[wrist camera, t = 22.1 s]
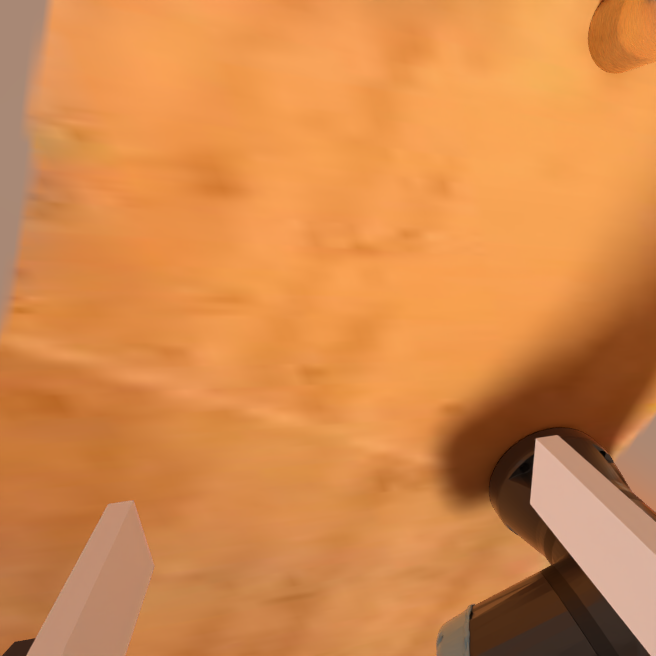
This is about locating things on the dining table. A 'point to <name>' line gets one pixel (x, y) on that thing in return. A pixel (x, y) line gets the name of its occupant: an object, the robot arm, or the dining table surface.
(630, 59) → the round bit
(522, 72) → the dining table surface
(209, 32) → the dining table surface
